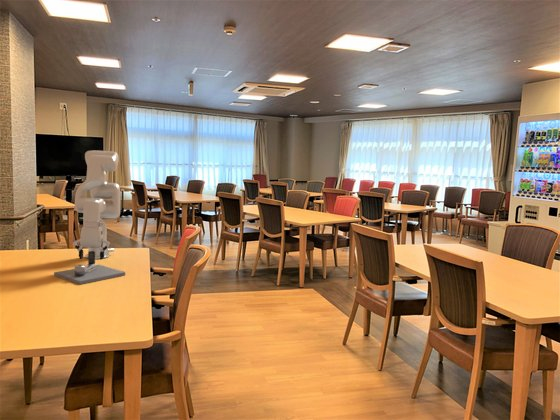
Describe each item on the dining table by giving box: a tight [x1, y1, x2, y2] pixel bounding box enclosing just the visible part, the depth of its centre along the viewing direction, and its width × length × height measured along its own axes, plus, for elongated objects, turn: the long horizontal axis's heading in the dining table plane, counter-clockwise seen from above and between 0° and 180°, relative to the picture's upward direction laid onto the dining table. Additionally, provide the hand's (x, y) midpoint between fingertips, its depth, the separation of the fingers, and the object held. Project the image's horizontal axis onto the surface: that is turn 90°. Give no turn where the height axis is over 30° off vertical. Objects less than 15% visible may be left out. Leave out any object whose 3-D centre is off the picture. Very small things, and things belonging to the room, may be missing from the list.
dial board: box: [53, 264, 126, 285], centre depth 206 cm, size 23×22×2 cm
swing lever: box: [74, 251, 96, 276], centre depth 207 cm, size 20×4×8 cm, turn 5°
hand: (91, 258), depth 215 cm, fingers open, 9 cm apart
